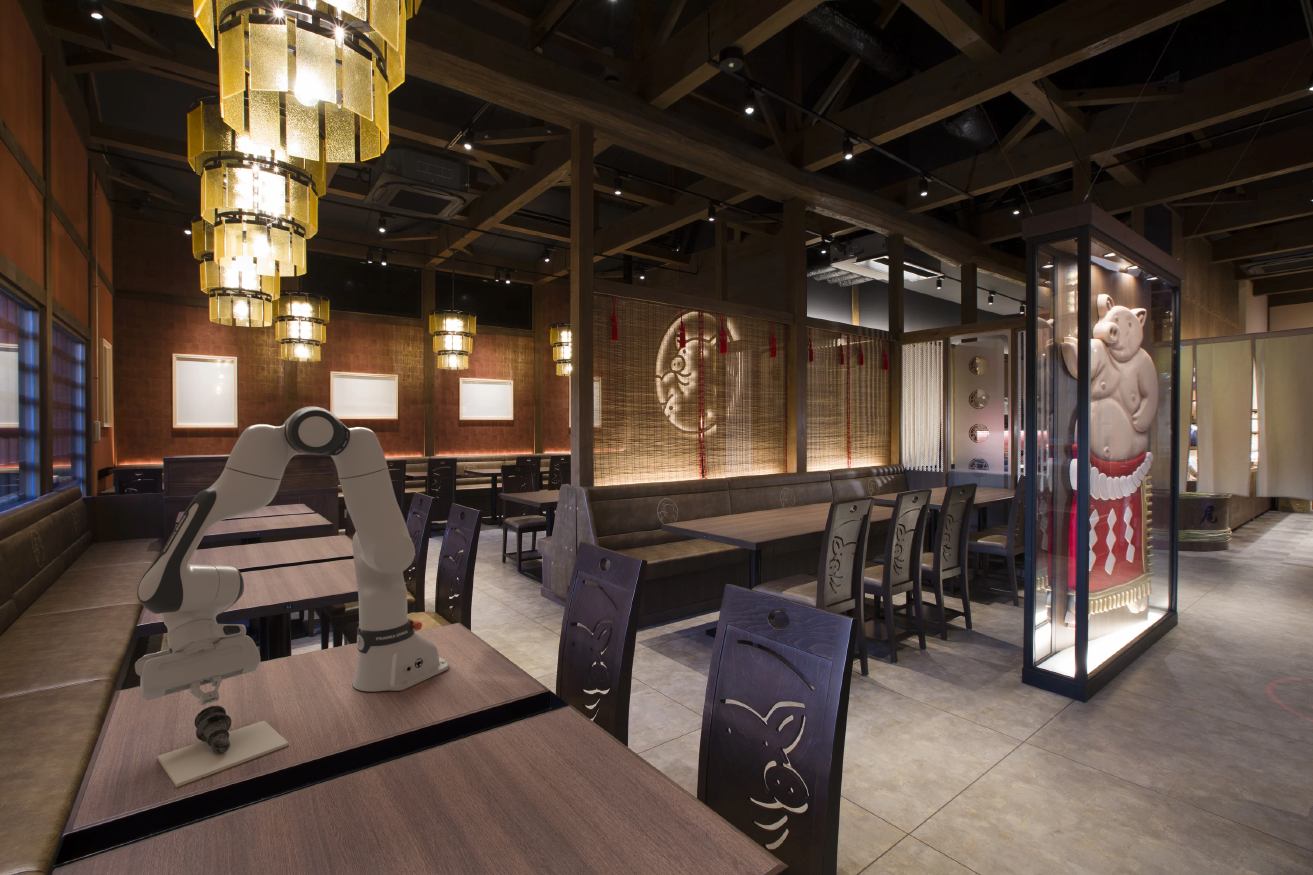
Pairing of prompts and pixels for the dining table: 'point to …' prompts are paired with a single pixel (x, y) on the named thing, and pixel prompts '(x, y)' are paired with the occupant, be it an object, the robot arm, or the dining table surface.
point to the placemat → (205, 762)
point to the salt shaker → (214, 728)
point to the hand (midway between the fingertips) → (210, 701)
